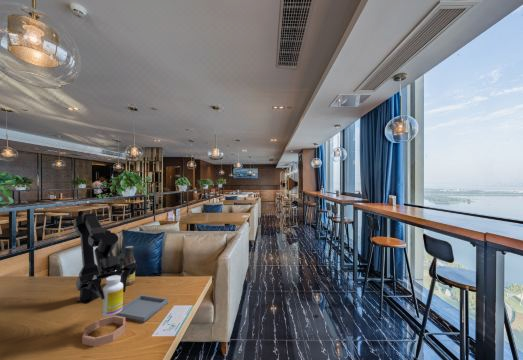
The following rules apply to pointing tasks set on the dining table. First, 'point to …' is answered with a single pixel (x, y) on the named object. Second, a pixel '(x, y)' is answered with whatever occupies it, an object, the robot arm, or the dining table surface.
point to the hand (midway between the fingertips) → (114, 295)
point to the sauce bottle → (129, 259)
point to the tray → (142, 308)
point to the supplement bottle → (112, 296)
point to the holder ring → (106, 338)
